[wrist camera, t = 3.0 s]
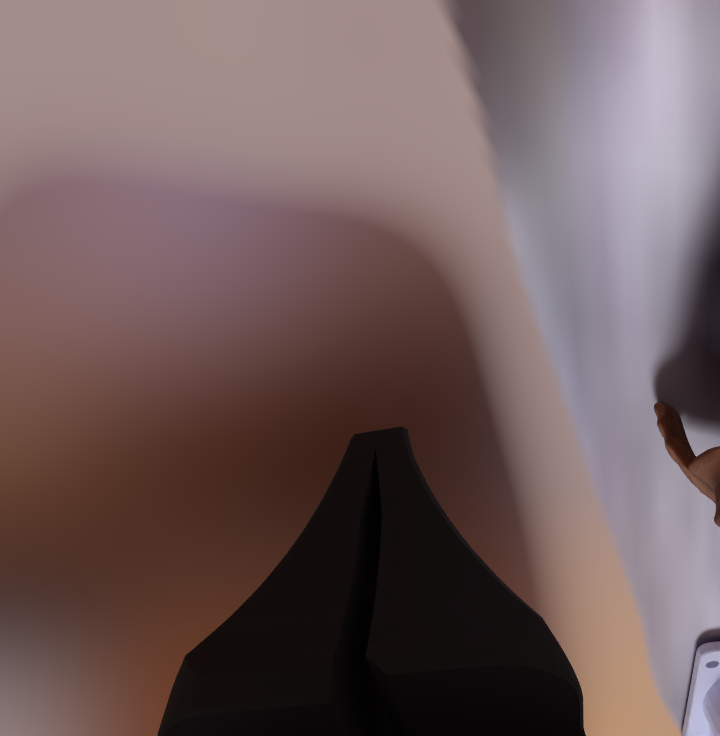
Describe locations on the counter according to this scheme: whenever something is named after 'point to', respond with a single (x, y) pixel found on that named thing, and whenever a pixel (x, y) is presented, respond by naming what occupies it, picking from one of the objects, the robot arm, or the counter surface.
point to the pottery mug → (690, 455)
